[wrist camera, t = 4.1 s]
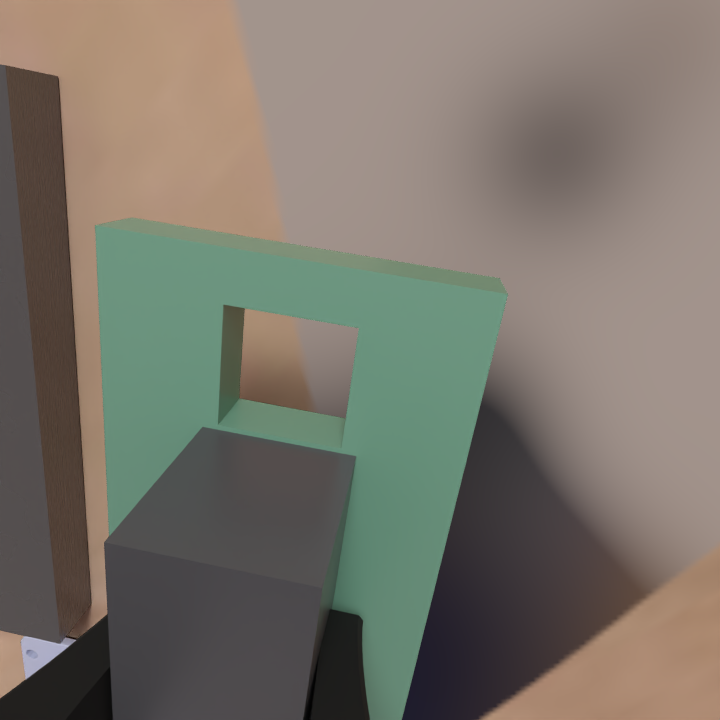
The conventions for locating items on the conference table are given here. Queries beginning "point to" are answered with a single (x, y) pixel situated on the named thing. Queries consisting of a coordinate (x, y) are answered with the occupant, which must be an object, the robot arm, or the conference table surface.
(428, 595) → the board
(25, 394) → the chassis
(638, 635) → the conference table surface
